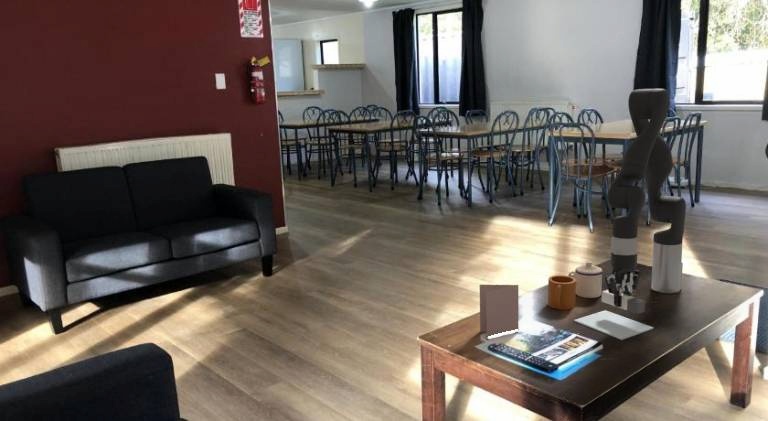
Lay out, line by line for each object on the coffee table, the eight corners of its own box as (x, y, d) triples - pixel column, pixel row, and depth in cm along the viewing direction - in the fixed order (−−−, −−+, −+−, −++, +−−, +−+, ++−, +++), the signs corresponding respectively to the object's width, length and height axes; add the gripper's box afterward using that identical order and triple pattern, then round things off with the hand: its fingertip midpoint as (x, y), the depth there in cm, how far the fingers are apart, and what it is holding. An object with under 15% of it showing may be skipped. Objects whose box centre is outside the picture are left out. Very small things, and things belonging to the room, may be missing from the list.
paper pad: (605, 311, 205) (605, 310, 205) (653, 328, 190) (653, 327, 189) (574, 321, 198) (574, 319, 198) (621, 339, 183) (621, 338, 183)
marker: (599, 300, 200) (599, 290, 199) (606, 298, 202) (606, 288, 201) (637, 314, 188) (637, 303, 187) (644, 311, 190) (645, 300, 189)
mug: (539, 309, 209) (539, 283, 207) (554, 298, 218) (554, 273, 217) (565, 314, 204) (565, 287, 202) (579, 303, 213) (580, 277, 211)
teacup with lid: (606, 293, 222) (607, 260, 219) (595, 300, 215) (596, 267, 213) (573, 286, 230) (574, 255, 227) (562, 293, 223) (562, 261, 221)
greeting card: (518, 331, 192) (518, 284, 189) (519, 341, 185) (519, 292, 182) (480, 330, 194) (479, 283, 191) (479, 340, 187) (479, 291, 184)
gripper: (629, 244, 198) (627, 297, 201) (597, 252, 191) (596, 306, 194) (650, 249, 191) (647, 303, 195) (618, 257, 184) (616, 313, 188)
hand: (622, 304), depth 194 cm, fingers closed on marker, 3 cm apart
